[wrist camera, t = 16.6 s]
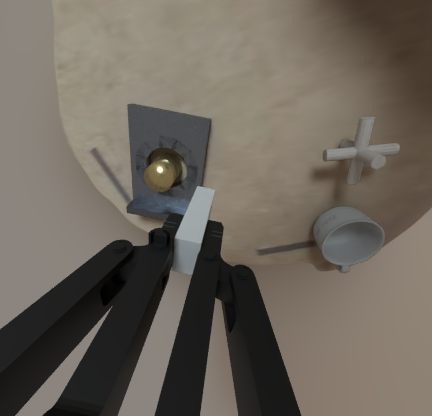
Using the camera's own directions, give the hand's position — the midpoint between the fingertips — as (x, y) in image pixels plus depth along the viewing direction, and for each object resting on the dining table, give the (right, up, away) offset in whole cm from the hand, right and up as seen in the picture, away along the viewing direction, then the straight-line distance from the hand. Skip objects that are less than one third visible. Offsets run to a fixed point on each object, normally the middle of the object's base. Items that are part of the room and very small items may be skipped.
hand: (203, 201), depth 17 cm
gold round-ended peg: (-8, +8, +23) cm, 26 cm away
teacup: (+27, -5, +27) cm, 39 cm away
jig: (-8, +8, +23) cm, 26 cm away
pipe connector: (+24, +11, +18) cm, 32 cm away
